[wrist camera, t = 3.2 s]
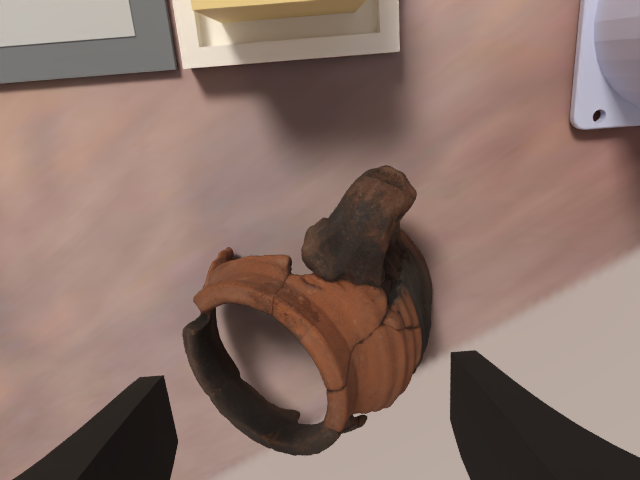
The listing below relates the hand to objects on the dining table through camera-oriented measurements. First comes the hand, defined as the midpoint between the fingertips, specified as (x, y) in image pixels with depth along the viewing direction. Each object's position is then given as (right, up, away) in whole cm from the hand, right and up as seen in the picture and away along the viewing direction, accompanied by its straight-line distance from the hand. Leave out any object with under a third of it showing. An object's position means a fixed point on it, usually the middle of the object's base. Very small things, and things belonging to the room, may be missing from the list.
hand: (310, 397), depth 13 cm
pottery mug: (+1, +3, +10) cm, 11 cm away
